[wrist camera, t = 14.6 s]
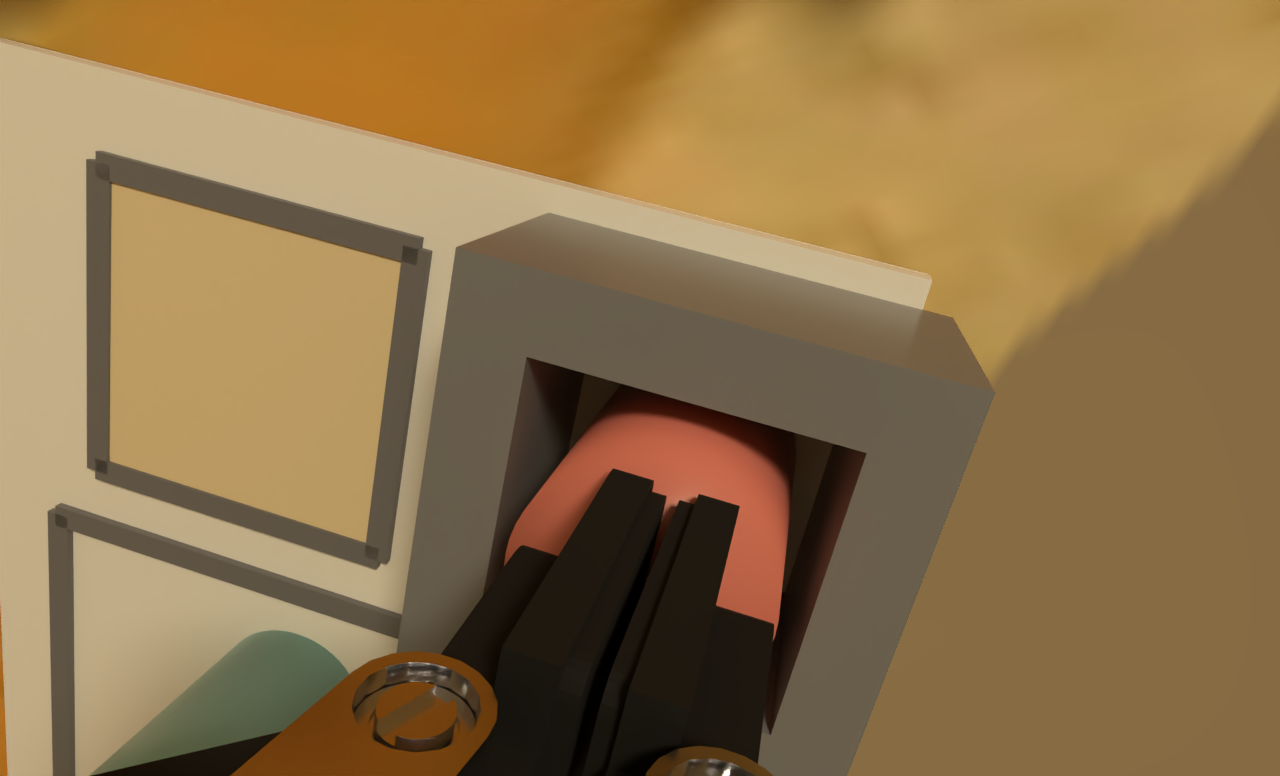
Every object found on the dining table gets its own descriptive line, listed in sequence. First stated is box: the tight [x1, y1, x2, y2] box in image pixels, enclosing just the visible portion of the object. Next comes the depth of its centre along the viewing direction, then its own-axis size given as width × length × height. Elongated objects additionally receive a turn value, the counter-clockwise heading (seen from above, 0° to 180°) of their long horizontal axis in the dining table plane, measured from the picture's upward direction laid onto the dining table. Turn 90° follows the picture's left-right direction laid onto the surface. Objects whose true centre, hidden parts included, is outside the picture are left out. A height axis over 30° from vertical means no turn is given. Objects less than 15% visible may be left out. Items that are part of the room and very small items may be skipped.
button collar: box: [396, 213, 995, 776], centre depth 14 cm, size 7×7×4 cm
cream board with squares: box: [0, 38, 932, 776], centre depth 19 cm, size 18×20×1 cm
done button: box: [504, 384, 796, 640], centre depth 13 cm, size 4×4×5 cm
